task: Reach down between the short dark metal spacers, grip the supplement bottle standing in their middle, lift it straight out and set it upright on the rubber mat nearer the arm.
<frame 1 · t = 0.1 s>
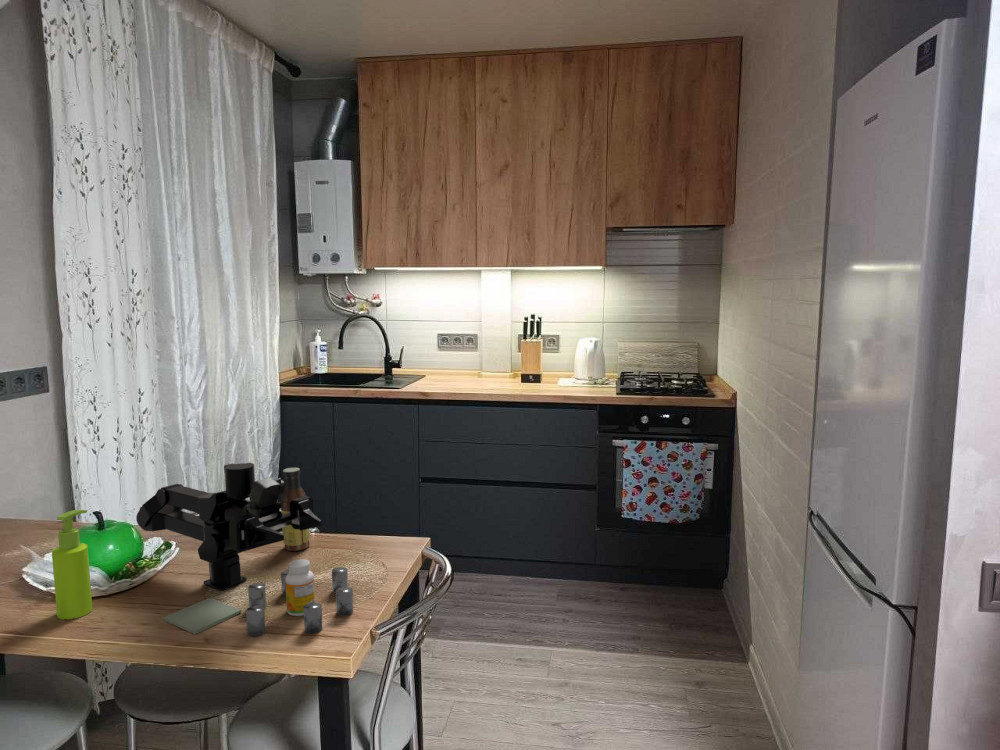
hand: (302, 530, 131), 17 cm above the table, tool horizontal, fingers open, 9 cm apart
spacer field: (301, 610, 133), on the table
soap dispenser: (77, 612, 133), on the table
supplement bottle: (301, 611, 134), on the table
sauce bottle: (296, 548, 166), on the table
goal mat: (202, 616, 131), on the table
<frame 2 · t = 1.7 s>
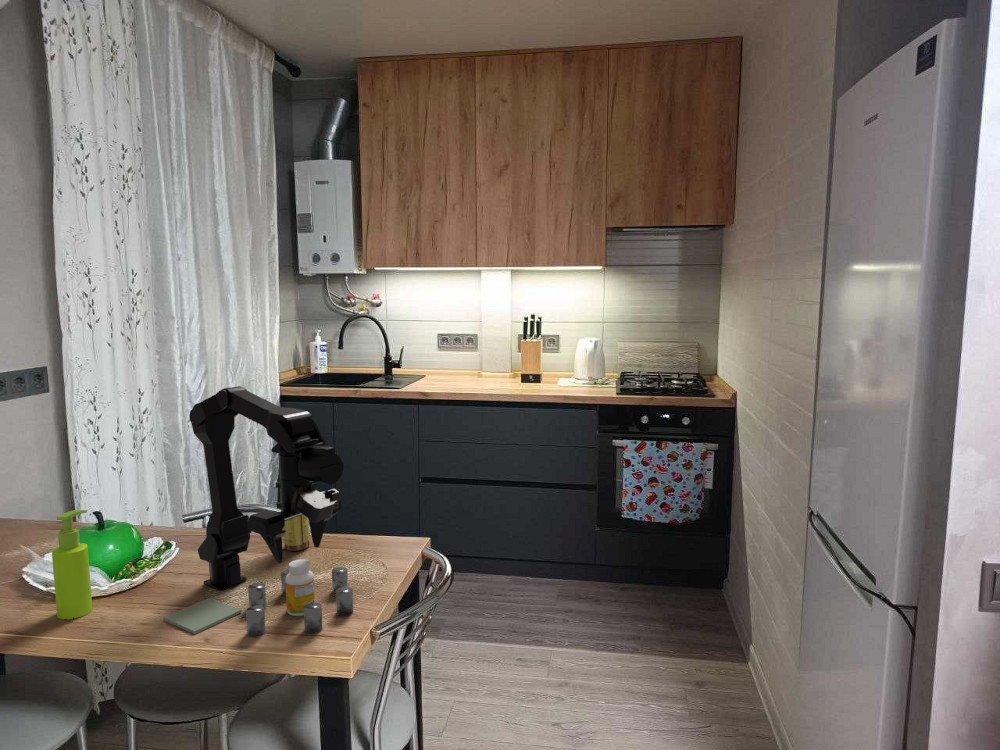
hand: (298, 554, 132), 11 cm above the table, tool pointing down, fingers open, 9 cm apart
nothing on the table moved.
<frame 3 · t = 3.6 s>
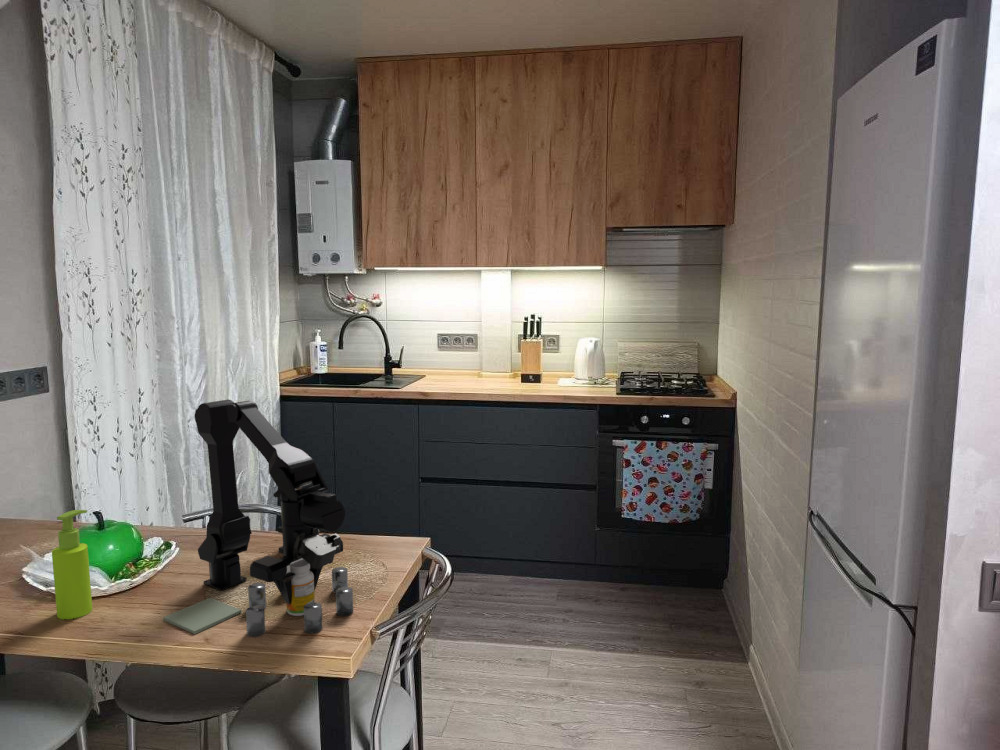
hand: (300, 598, 133), 3 cm above the table, tool pointing down, fingers closed on supplement bottle, 5 cm apart
supplement bottle: (301, 611, 134), on the table, touching gripper
everything else where it was.
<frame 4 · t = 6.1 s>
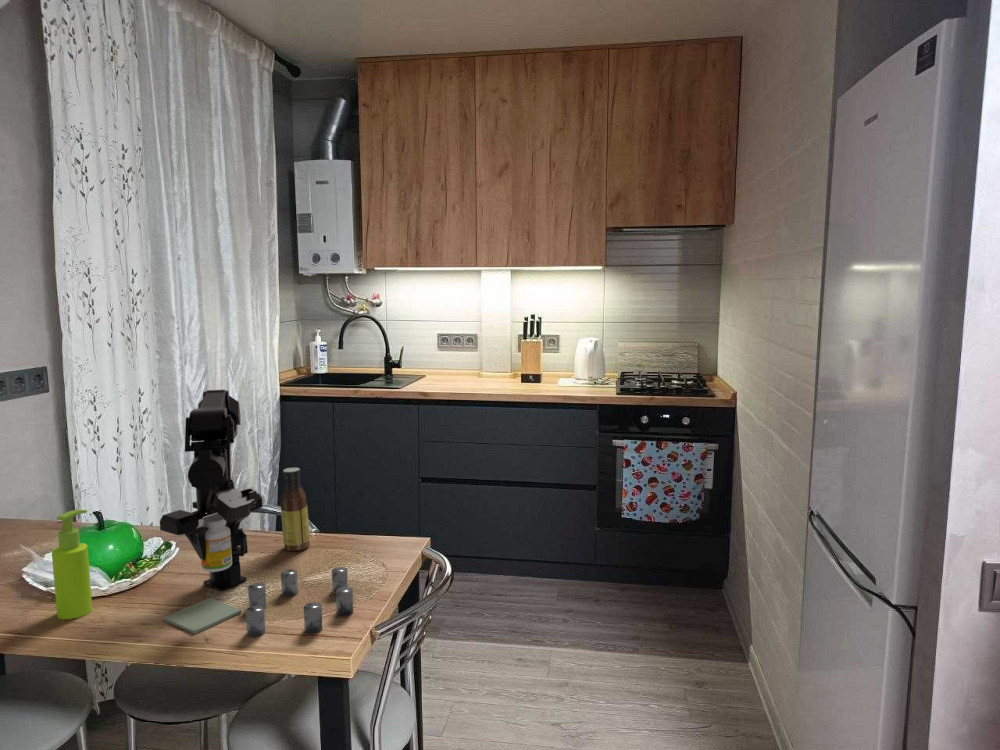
hand: (216, 554, 130), 12 cm above the table, tool pointing down, fingers closed on supplement bottle, 5 cm apart
supplement bottle: (217, 567, 130), point 10 cm above the table, touching gripper
everything else where it was.
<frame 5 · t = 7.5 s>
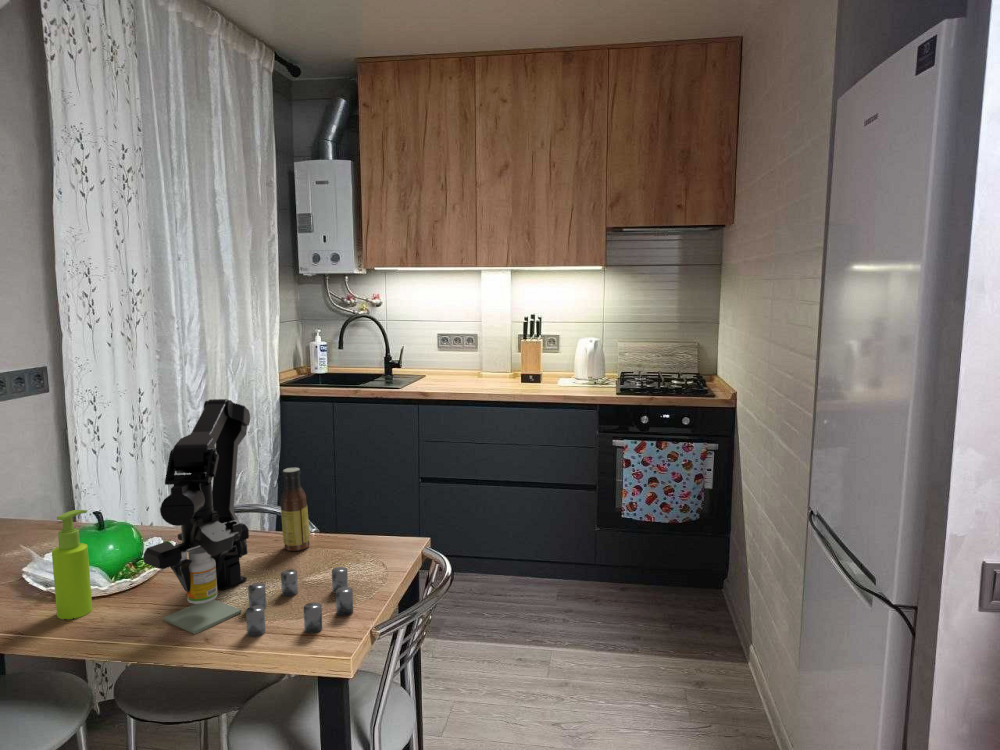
hand: (201, 585, 130), 6 cm above the table, tool pointing down, fingers closed on supplement bottle, 5 cm apart
supplement bottle: (202, 599, 131), point 3 cm above the table, touching gripper
everything else where it was.
when the fingers open (4 cm above the table, at t = 8.7 s): supplement bottle drops 1 cm, resting on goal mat.
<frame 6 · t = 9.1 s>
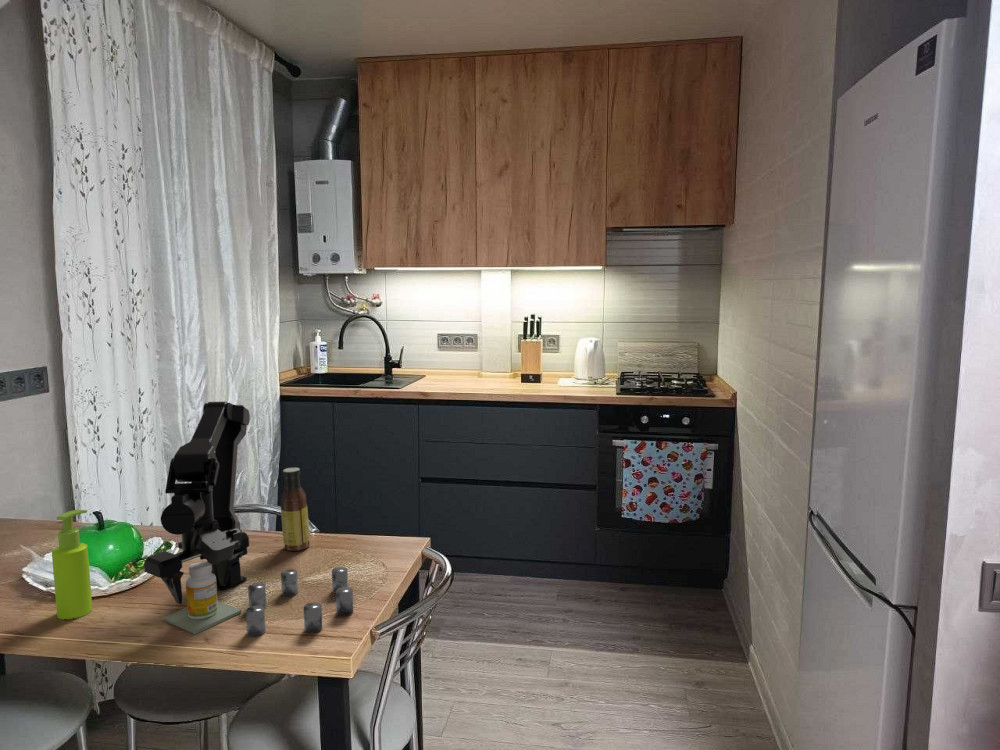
hand: (201, 594, 130), 4 cm above the table, tool pointing down, fingers open, 9 cm apart
supplement bottle: (203, 614, 131), resting on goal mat
everything else where it was.
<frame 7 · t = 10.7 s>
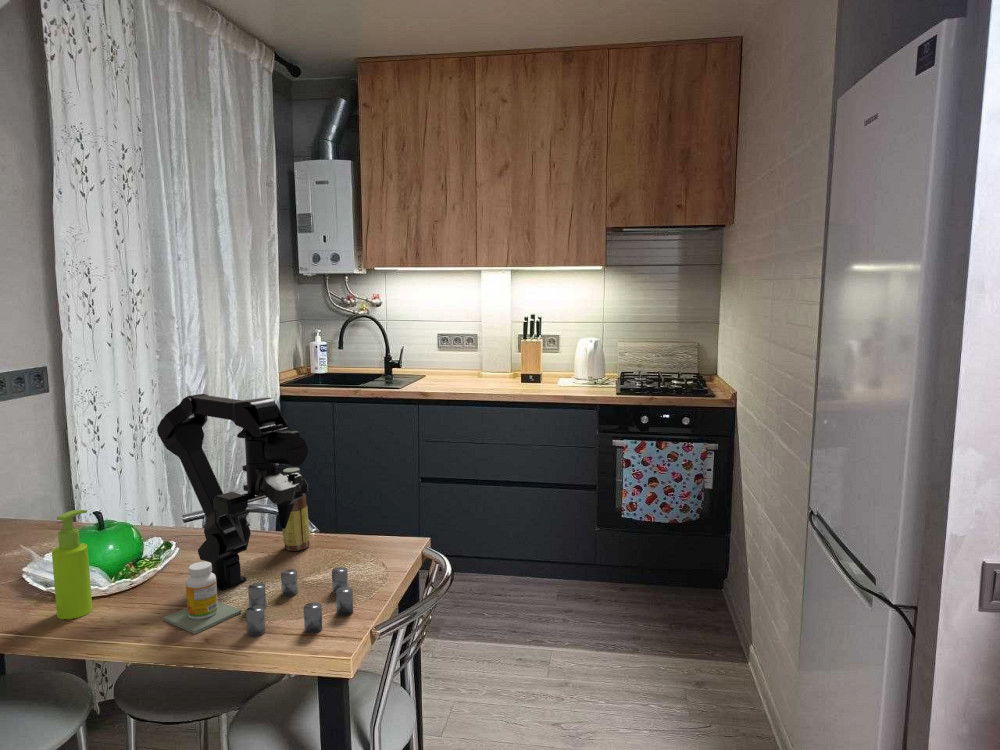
hand: (264, 534, 139), 13 cm above the table, tool pointing down, fingers open, 9 cm apart
nothing on the table moved.
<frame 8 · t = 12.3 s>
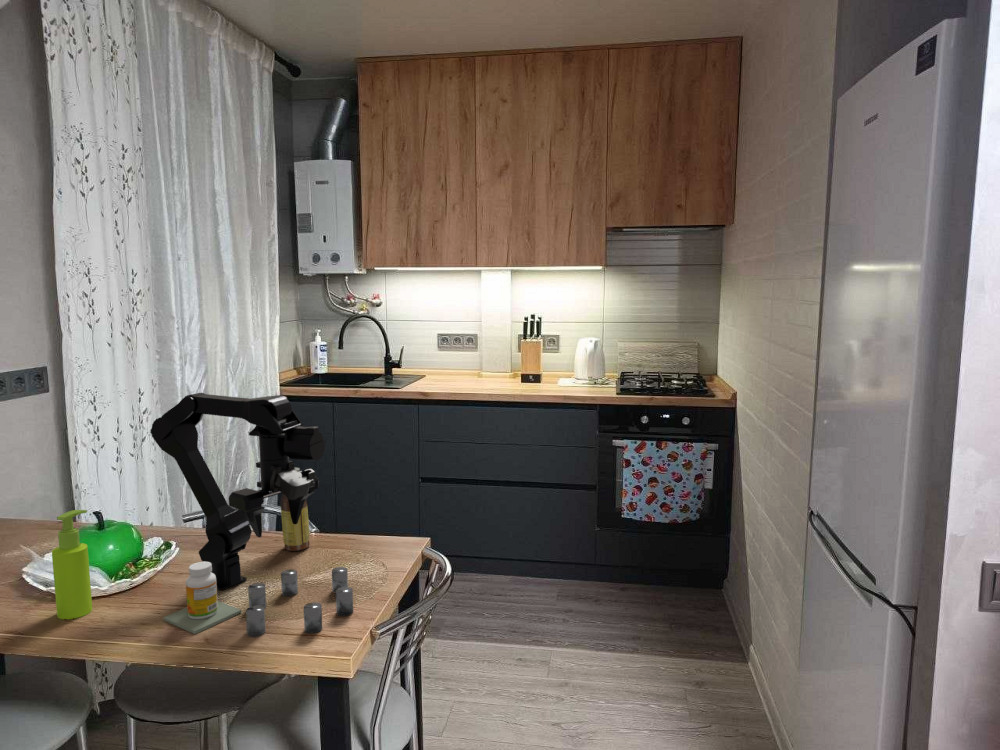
hand: (277, 530, 141), 13 cm above the table, tool pointing down, fingers open, 9 cm apart
nothing on the table moved.
at the end: supplement bottle 0.0 cm off-centre on the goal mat, point 0.4 cm above the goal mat's base; supplement bottle tilted 0°; the gripper is holding nothing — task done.
